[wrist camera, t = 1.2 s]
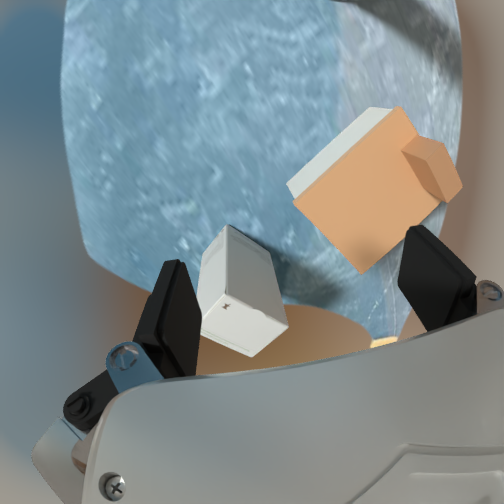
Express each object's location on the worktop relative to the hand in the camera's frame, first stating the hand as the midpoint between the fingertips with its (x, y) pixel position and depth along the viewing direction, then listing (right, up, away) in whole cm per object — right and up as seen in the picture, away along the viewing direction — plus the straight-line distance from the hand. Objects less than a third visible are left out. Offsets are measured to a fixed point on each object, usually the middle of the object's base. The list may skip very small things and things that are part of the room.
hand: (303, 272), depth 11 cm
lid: (+13, +8, +18) cm, 24 cm away
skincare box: (-4, +1, +30) cm, 30 cm away
